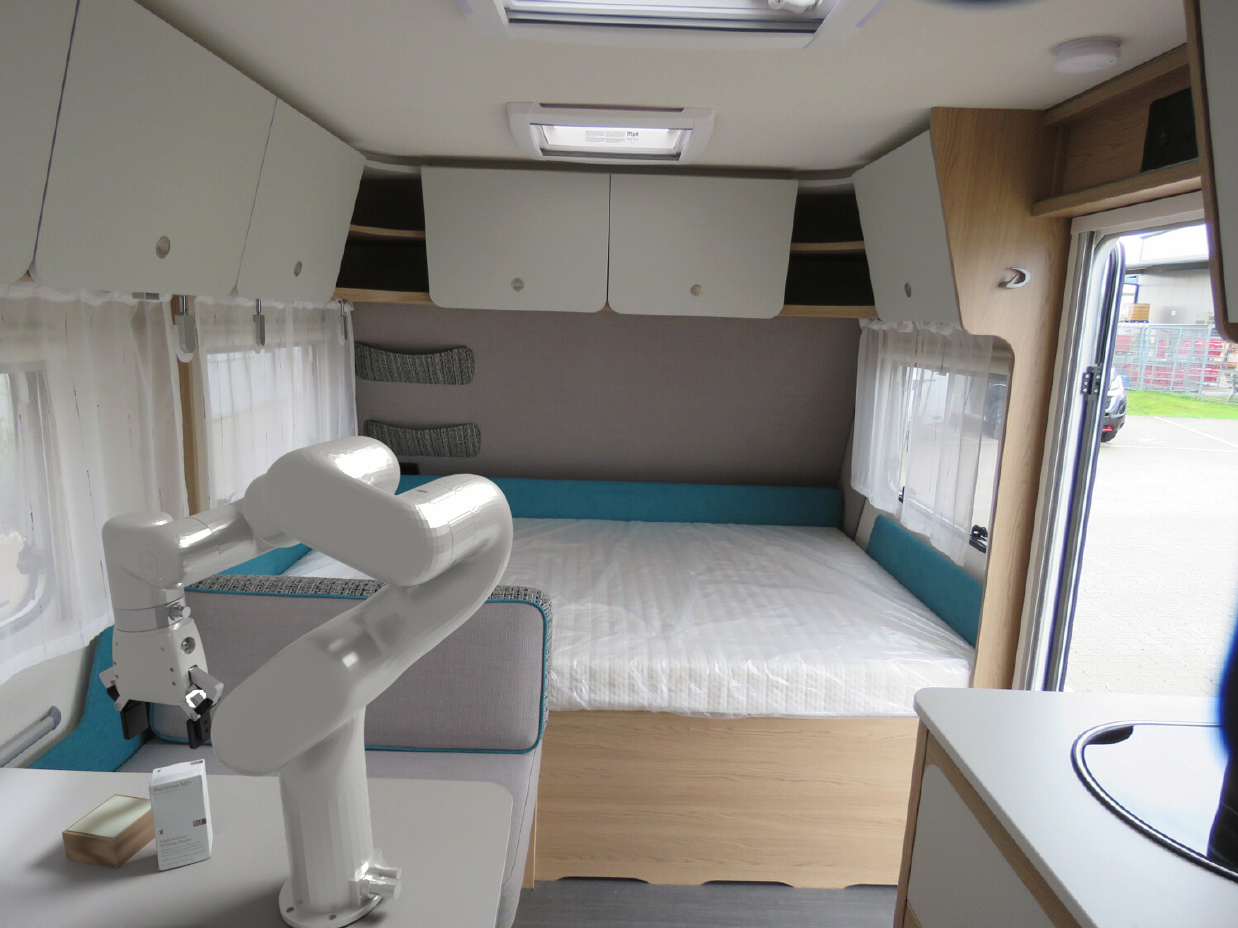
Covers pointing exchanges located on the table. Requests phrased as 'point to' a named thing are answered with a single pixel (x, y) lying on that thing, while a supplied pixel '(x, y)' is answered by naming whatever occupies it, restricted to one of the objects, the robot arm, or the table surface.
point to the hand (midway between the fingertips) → (168, 738)
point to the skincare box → (181, 814)
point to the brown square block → (111, 832)
